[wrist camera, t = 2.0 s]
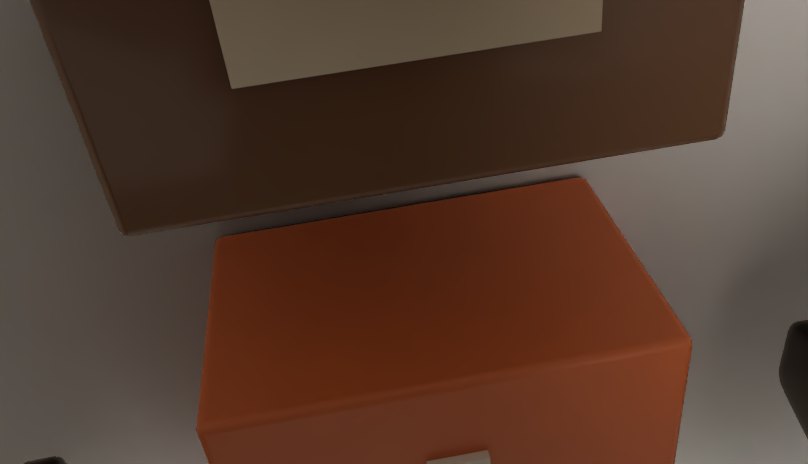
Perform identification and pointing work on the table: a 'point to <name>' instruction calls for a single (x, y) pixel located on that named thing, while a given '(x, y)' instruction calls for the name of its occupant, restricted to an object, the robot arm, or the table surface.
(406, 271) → the orange block
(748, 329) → the table surface
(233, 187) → the brown square block
